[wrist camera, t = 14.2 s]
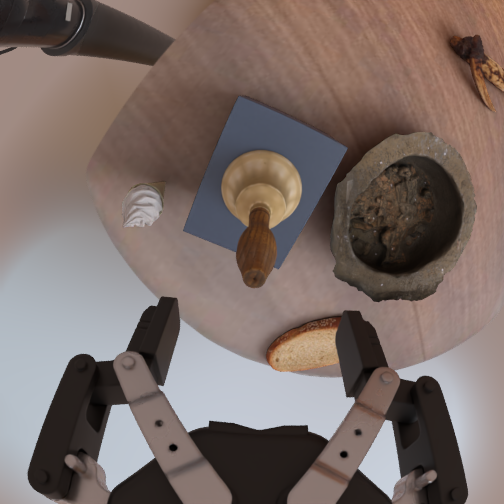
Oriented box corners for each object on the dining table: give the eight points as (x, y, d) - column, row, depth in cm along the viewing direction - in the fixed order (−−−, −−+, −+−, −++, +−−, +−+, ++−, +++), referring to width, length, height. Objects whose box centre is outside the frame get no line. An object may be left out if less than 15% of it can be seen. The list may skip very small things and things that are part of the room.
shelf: (201, 197, 42) (182, 231, 33) (245, 95, 35) (238, 95, 25) (275, 228, 44) (278, 269, 35) (326, 133, 37) (348, 148, 27)
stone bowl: (314, 278, 48) (323, 311, 40) (320, 120, 38) (335, 121, 29) (440, 274, 47) (463, 301, 38) (462, 138, 36) (497, 147, 28)
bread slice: (260, 360, 60) (259, 374, 57) (296, 300, 51) (298, 314, 48) (333, 375, 62) (335, 388, 59) (377, 322, 54) (382, 335, 50)
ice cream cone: (181, 199, 43) (146, 249, 30) (149, 198, 43) (105, 247, 30) (179, 166, 40) (140, 204, 27) (147, 166, 40) (97, 204, 27)
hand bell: (234, 232, 33) (214, 341, 19) (211, 161, 29) (162, 231, 15) (308, 215, 31) (340, 318, 18) (291, 141, 27) (321, 193, 14)
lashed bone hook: (437, 71, 31) (508, 127, 32) (453, 71, 27) (524, 134, 28) (450, 25, 26) (520, 86, 27) (466, 22, 22) (537, 90, 23)
